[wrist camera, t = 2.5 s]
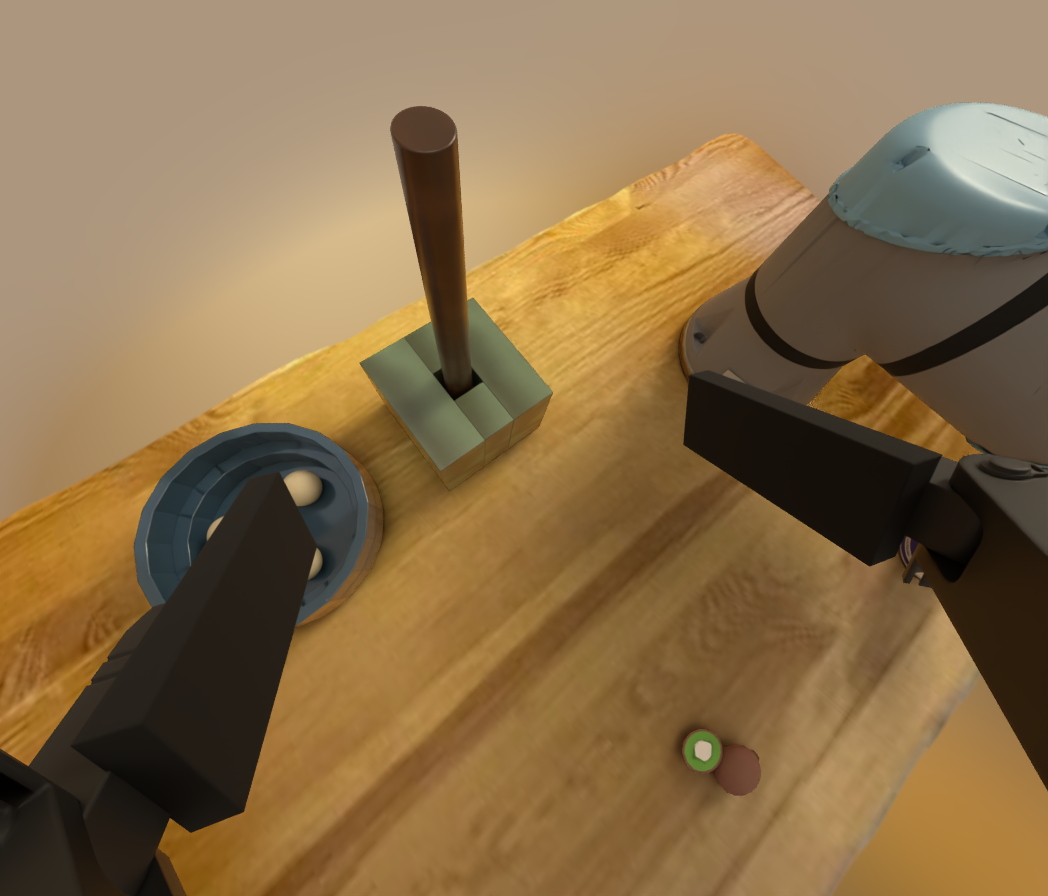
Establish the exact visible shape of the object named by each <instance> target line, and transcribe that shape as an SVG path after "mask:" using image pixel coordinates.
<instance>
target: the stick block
mask: <svg viewBox="0 0 1048 896" xmlns="http://www.w3.org/2000/svg"><path fill="white" fill-rule="evenodd" d="M467 303H468V319H469V336H470V352H471V369H472V385H473V389H471V390H470V391H468V392H467V393H465V394H464V395H462V396H461V397H459V398H458V399H456V400H455V401H453V399H452V398H451V397H450V395H449V394H448V393H447V392H446V387H445V383H444V378H443V373H442V369H441V364H440V359H439V355H438V350H437V346H436V341H435V336H434V332H433V327H432V322H429V323H428V324H426V325H424V326H423V327H421V328H419V329H417V330H416V331H414V332H412V333H410V334H409V335H407V336H405V337H404V338H402V339H400V340H398V341H397V342H395V343H393V344H391V345H390V346H388V347H386V348H384V349H383V350H381V351H379V352H378V353H376V354H374V355H372V356H371V357H369V358H367V359H365V360H364V361H362V362H360V365H361V367H362V368H363V370H364V371H365V373H366V375H367V376H368V378H369V379H370V381H371V383H372V384H373V386H374V388H375V389H376V391H377V392H378V394H379V396H380V397H381V399H382V400H383V402H384V404H385V405H386V406H387V408H388V409H389V410H390V412H391V413H392V415H393V416H394V417H395V419H396V420H397V421H398V423H399V424H400V425H401V427H402V428H403V429H404V431H405V432H406V433H407V435H408V436H409V437H410V439H411V440H412V441H413V443H414V444H415V445H416V447H417V448H418V449H419V451H420V452H421V453H422V455H423V456H424V457H425V459H426V460H427V462H428V463H429V464H430V466H431V467H432V468H433V470H434V471H435V472H436V474H437V475H438V476H439V478H440V479H441V480H442V482H443V483H444V484H445V486H446V487H447V488H448V490H449V491H451V490H452V489H454V488H455V487H456V486H458V485H459V484H461V483H462V482H463V481H465V480H466V479H467V478H469V477H470V476H472V475H473V474H474V473H476V472H477V471H478V470H480V469H481V468H483V467H484V466H485V465H487V464H488V463H489V462H491V461H492V460H494V459H495V458H496V457H498V456H499V455H500V454H502V453H503V452H505V451H506V450H507V449H509V448H510V447H512V446H513V445H514V444H516V443H517V442H518V441H520V440H521V439H523V438H524V437H525V436H527V435H528V434H530V433H531V432H532V431H534V430H535V429H536V428H538V427H539V426H540V423H541V421H542V418H543V416H544V414H545V411H546V409H547V406H548V404H549V401H550V399H551V396H552V394H553V391H552V390H551V389H550V388H549V386H548V385H547V384H546V383H545V382H544V381H543V379H542V378H541V377H540V376H539V375H538V374H537V372H536V371H535V370H534V369H533V368H532V366H531V365H530V364H529V363H528V362H527V361H526V359H525V358H524V357H523V356H522V355H521V354H520V352H519V351H518V350H517V349H516V348H515V346H514V345H513V344H512V343H511V342H510V341H509V339H508V338H507V337H506V336H505V335H504V334H503V332H502V331H501V330H500V329H499V328H498V326H497V325H496V324H495V323H494V322H493V321H492V319H491V318H490V317H489V316H488V315H487V313H486V312H485V311H484V310H483V309H482V308H481V306H480V305H479V304H478V303H477V302H476V301H475V299H474V298H471V299H469V300H468V301H467Z"/></svg>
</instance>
